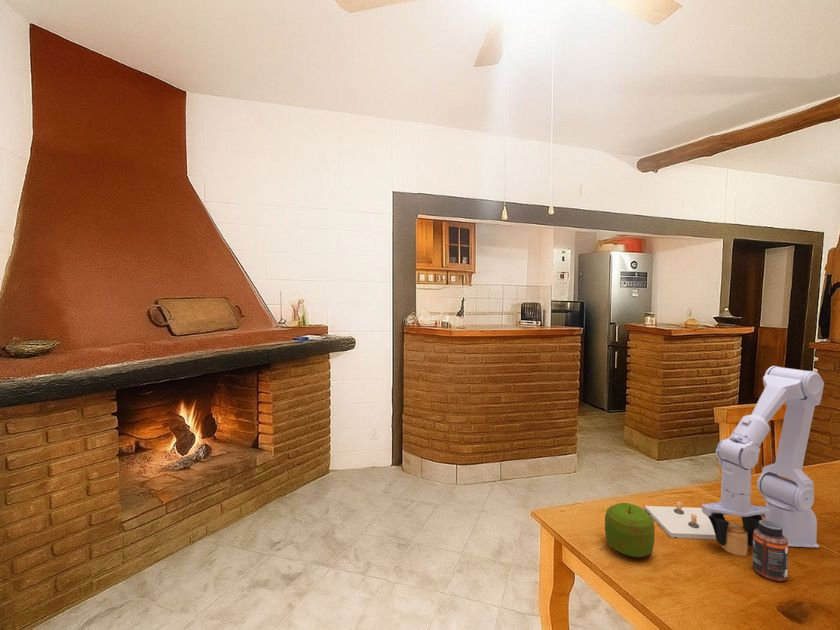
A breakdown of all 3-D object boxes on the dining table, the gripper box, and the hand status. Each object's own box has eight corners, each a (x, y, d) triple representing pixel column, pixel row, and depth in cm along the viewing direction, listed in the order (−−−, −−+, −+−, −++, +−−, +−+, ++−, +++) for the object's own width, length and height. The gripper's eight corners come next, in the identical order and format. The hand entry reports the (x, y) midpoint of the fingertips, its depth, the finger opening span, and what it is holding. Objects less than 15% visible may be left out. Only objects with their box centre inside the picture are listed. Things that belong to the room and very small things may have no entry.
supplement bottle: (795, 582, 88) (796, 531, 87) (770, 583, 87) (771, 532, 87) (768, 564, 94) (770, 516, 93) (745, 565, 93) (746, 517, 93)
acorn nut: (737, 543, 102) (738, 521, 101) (752, 556, 97) (752, 532, 96) (717, 543, 102) (717, 520, 102) (730, 555, 97) (731, 531, 97)
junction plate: (701, 512, 117) (702, 498, 117) (735, 540, 103) (736, 524, 103) (644, 509, 118) (644, 496, 118) (670, 537, 104) (670, 522, 104)
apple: (607, 532, 107) (607, 491, 107) (654, 544, 101) (654, 502, 101) (602, 554, 97) (602, 510, 97) (653, 569, 92) (654, 522, 91)
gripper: (754, 483, 102) (753, 535, 103) (694, 481, 103) (693, 533, 104) (777, 496, 95) (775, 552, 96) (712, 494, 96) (711, 549, 97)
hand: (734, 543), depth 99 cm, fingers open, 6 cm apart
